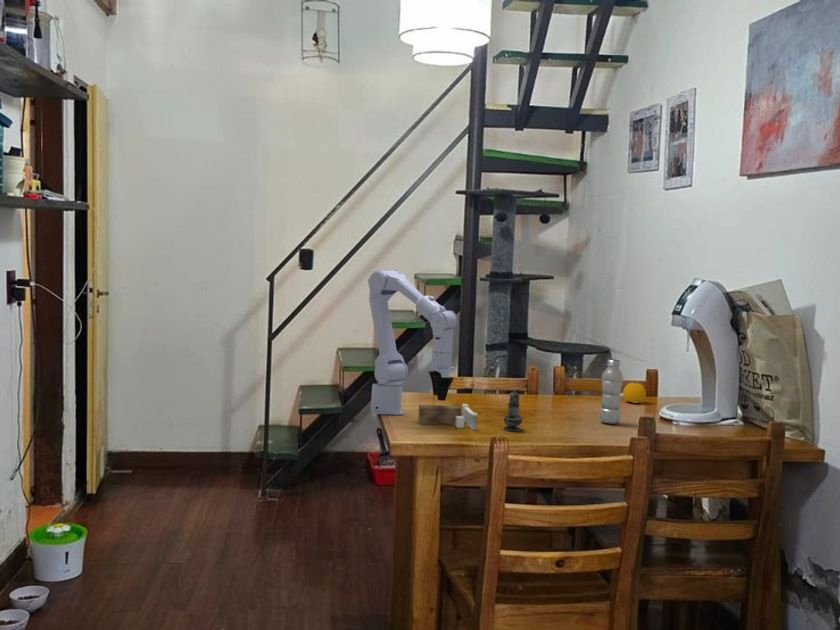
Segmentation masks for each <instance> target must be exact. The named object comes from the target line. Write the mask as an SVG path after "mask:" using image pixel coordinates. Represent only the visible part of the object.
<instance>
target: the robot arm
mask: <svg viewBox="0 0 840 630" xmlns="http://www.w3.org/2000/svg"><path fill="white" fill-rule="evenodd" d="M367 279H368V280H367V283H368V286H369V287H368V289H369V297H368V301H369V306H370V312H371V318H372V322H373V327H374V332H375V337H376V344H377V348H378V356H377V358H376V359H375V360H374V365H375V366H374V378H375V380H376V381H377V383H373V384H371V386H372V387H371V401H370V410H371V413H372V414H373V415H398V416H399V415H404V411H403V410H402V401H403V400H402V398H403V397H402V396H403V385H404V383H405V381H406V380H407V378H408V375H409V368H408V365H407V364H406V362H405V360H404V356H403V355H402V354H401V353H399V352H398V350H397V346H396V339H395V333H394V330H393V324H392V319H391V313H390V310H389V309H390V307H389V303H388V302H389V301H390V299H391V298H392V297H393V296H394V295H396V293H397V292H399V293H401V294H402V295H403V296H405V298H407V299H409V300H410V301H411V302H412V303H414V304H415V309H416V311H417V312H418V313H420V315H421V316H423V318H425V319H426V320H427V321H428V322H429V325H430V327H431V329H432V335H433V337H432V338H433V339H432V340H433V341H432V353H431V354H432V355H431V356H432V357H431V366H430V370H429V371H428V374H429V377H430V380H431V385H432V391H433V392H432V394H433V396H436V397H437V400H438V401H443V402H444V401H446V400H447V397H448V392H449V389H450V387H451V384H452V383H453V381H454V377H452V376H450V375H449V374H450V373H451V371H455V369H456V367H455V366H452V355H453V342H454V341H453V340H454V330H455V329H456V328H457V327H458V324H459V319H458V315H457V314H456V313H455V311H453V310H447V309H446V307H445V306H443V305H441V304H439V303H438V302H437V301H436V300H435V297H434V296H432V295H428V294H427V295H423V294H422V293H421V292H420V291H419V290H418V289H417V288H416V287H415V286H414V285H413V284H412V283H411V282H410V281H409V280H408V279H407V276H406V275H405V274H404V273H402V272H401V271H399V270H395V269H394V270H380V269H376V270H373V272H371V274H370V276H369V278H367ZM449 376H450V377H449Z"/></svg>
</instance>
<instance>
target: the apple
mask: <svg viewBox="0 0 840 630" xmlns="http://www.w3.org/2000/svg"><path fill="white" fill-rule="evenodd" d="M622 395H623V396H622V397H623V399H624V401H626V400H627V401H630V402H642V403H644V401H645V400H646V398H647V391H646V389H645V387H644V386H643V384H641V383H638V382H629V383H627V384H626V385H625V387H624V388H623V392H622ZM627 401H626V402H627Z"/></svg>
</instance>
